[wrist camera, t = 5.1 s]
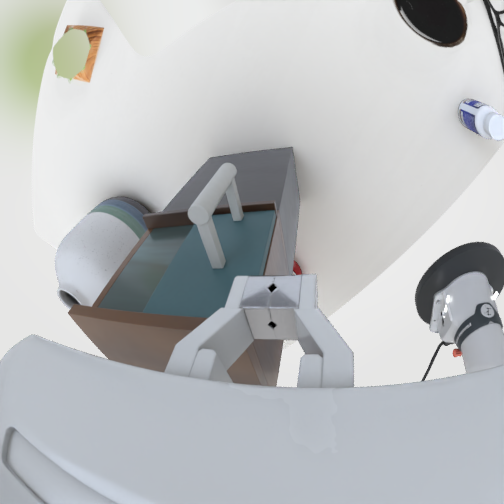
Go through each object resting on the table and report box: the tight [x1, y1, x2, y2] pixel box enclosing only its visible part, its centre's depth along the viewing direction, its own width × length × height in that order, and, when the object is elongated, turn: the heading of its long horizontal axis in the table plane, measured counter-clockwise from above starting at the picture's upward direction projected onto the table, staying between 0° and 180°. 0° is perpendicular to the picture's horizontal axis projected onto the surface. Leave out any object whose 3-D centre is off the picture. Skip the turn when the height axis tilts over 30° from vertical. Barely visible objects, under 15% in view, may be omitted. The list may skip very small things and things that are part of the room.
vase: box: [55, 197, 149, 309], centre depth 48 cm, size 17×17×24 cm
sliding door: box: [142, 163, 276, 318], centre depth 19 cm, size 6×7×12 cm
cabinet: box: [68, 147, 300, 387], centre depth 32 cm, size 12×14×35 cm
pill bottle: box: [458, 99, 504, 141], centre depth 26 cm, size 5×5×9 cm
